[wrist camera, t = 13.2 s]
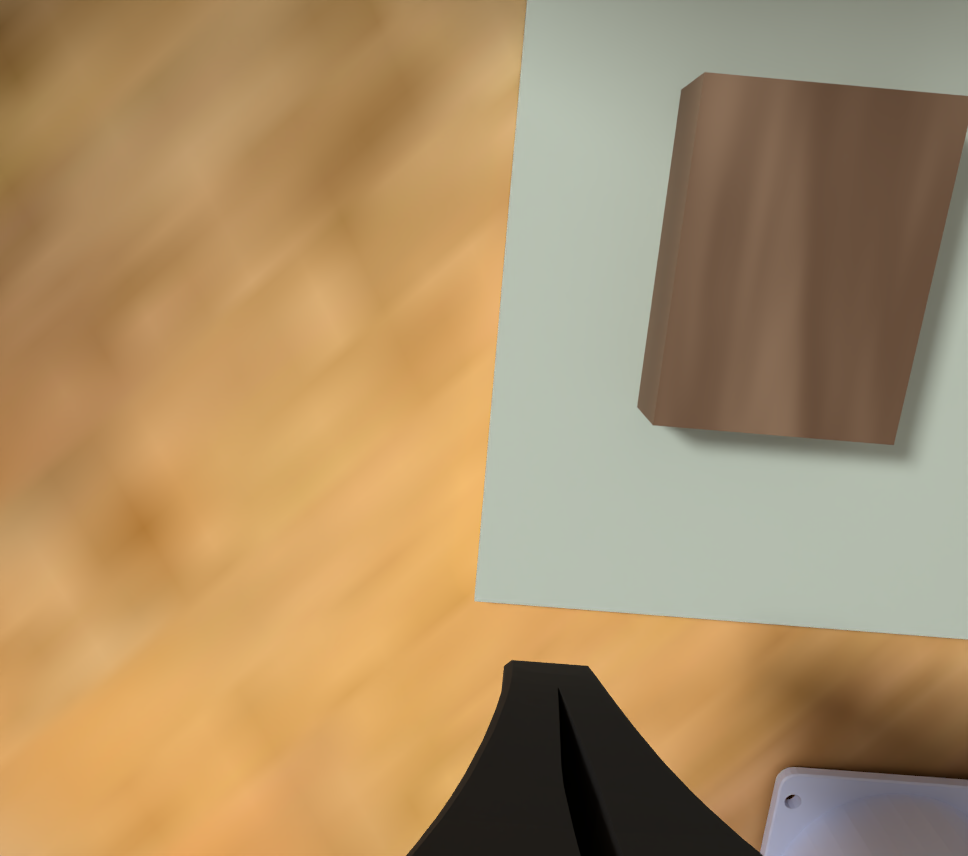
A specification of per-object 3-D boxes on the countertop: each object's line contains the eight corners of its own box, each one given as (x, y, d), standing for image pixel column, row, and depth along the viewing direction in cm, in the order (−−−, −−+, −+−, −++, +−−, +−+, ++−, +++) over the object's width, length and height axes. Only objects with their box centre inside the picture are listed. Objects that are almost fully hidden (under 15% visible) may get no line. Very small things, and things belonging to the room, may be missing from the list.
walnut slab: (974, 96, 16) (704, 72, 16) (893, 445, 18) (652, 425, 18) (922, 111, 18) (681, 89, 18) (854, 425, 20) (636, 407, 20)
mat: (1067, 638, 22) (1080, 648, 22) (474, 593, 22) (474, 601, 22) (1276, -27, 18) (1298, -34, 17) (535, -96, 18) (536, -105, 17)
